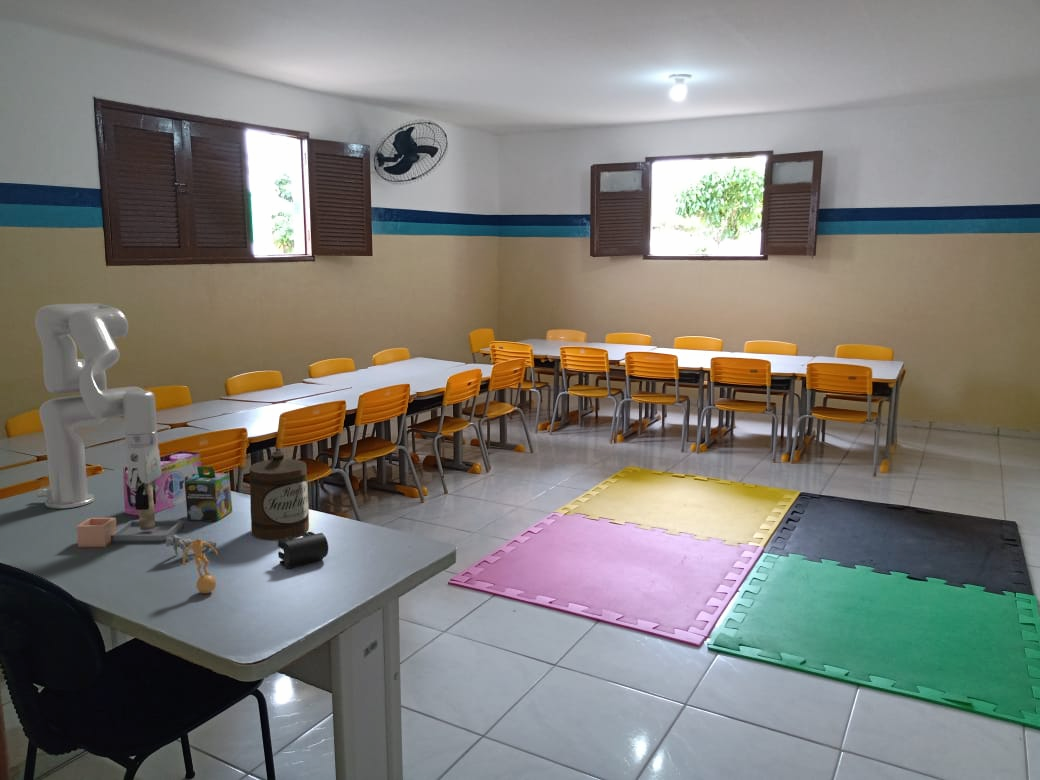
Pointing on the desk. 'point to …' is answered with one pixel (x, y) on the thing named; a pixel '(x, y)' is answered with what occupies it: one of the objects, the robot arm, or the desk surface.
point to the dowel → (148, 511)
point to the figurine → (205, 581)
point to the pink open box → (96, 532)
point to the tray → (147, 531)
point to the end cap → (302, 549)
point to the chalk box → (208, 495)
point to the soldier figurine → (185, 544)
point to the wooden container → (279, 498)
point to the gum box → (166, 481)
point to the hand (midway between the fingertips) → (146, 506)
